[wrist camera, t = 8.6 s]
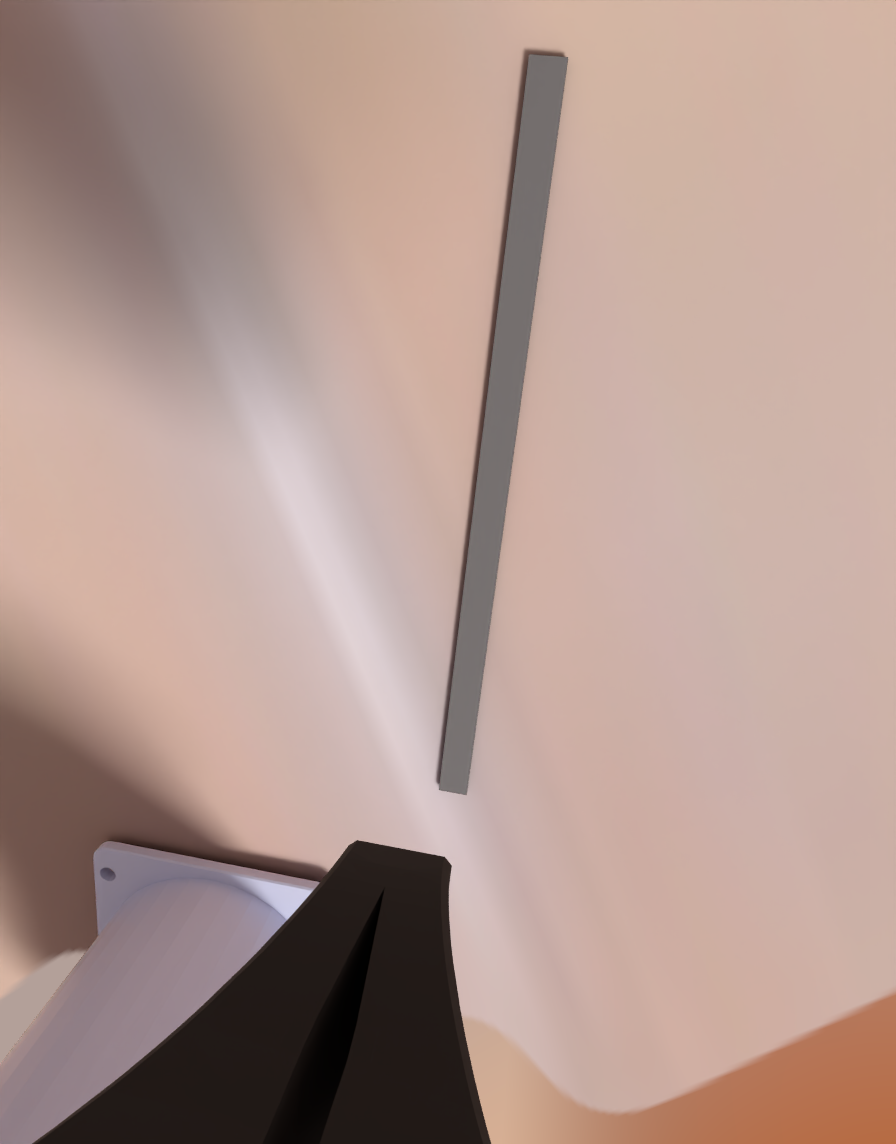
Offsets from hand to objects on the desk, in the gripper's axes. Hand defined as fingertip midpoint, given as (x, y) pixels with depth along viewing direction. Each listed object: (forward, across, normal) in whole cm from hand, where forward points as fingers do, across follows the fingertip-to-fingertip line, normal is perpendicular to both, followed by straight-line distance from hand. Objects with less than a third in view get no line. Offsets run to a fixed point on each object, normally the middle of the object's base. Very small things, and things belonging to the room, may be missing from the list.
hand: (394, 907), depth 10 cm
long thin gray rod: (+10, 0, -4) cm, 11 cm away
